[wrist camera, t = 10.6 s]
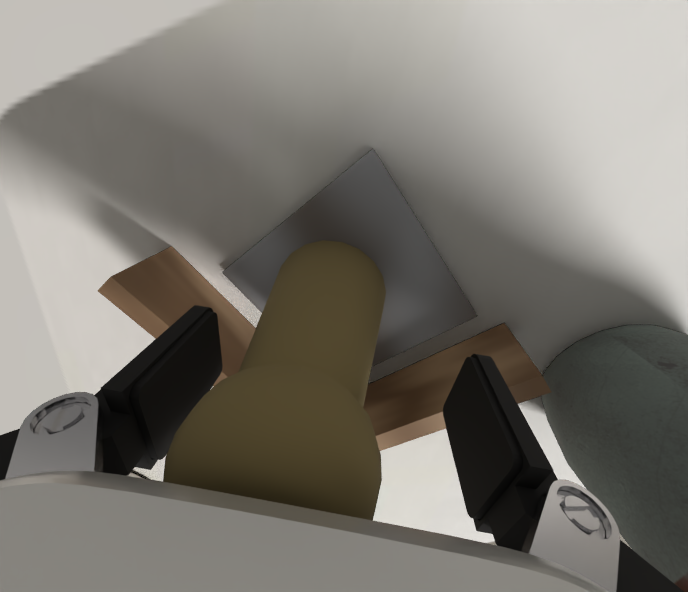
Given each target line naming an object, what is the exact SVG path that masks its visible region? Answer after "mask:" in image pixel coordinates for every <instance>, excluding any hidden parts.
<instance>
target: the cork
mask: <svg viewBox="0 0 688 592" xmlns="http://www.w3.org/2000/svg"><path fill="white" fill-rule="evenodd" d="M385 296H386V289H385V284H384V279H383V275H382V274H381V272H380V270H379V269H378V267H377V266H376V264H375V262H374V261H373V260H372V259H371V258H369V257H368V256H367V255H366V254H365V253H364V252H362V251H361V250H360V249H358V248H355V247H353V246H351V245H348V244H346V243H343V242H336V241H325V240H322V241H318V242H314V243H309V244H305V245H304V246H302V247H300V248H299V249H297V250H296V251H294V252H292V253H291V254H290V255H289V257H288V258H287V259H286V260H285V262H284V263H283V264H282V266H281V268H280V270H279V273H278V275H277V278H276V280H275V283H274V285H273V287H272V290H271V292H270V295H269V297H268V300H267V302H266V305H265V307H264V310H263V312H262V315H261V317H260V320H259V322H258V325H257V327H256V329H255V332H254V334H253V337H252V339H251V342H250V344H249V347H248V349H247V352H246V354H245V357H244V359H243V362H242V364H241V366H240V369H239V371H238V373H236V374H234V375H231V376H229V377H227V378H225V379H223V380H221V381H220V382H219V383H218V384H217V385H215V386H214V387H213V388H212V389H211V390H210V391H209V392H207V393H206V394H205V395H204V396H203V397H202V399H201V400H200V401H199V402H198V403H197V404H196V406H195V407H194V408H193V409H192V410H191V412H190V413H189V414H188V416H187V417H186V419H185V420H184V421H183V423H182V424H181V426H180V427H179V428H178V430H177V431H176V433H175V435H174V438H173V440H172V443H171V445H170V448H169V451H168V453H167V456H166V460H165V469H164V480H163V482H167V483H173V484H179V485H184V486H190V487H195V488H201V489H206V490H212V491H217V492H223V493H228V494H233V495H239V496H244V497H250V498H255V499H261V500H266V501H271V502H277V503H282V504H287V505H293V506H298V507H303V508H309V509H314V510H319V511H325V512H330V513H335V514H341V515H346V516H351V517H356V518H362V519H367V520H372V521H373V516H374V512H375V508H376V503H377V499H378V494H379V489H380V485H381V480H382V478H381V454H380V451H379V447H378V443H377V440H376V436H375V432H374V429H373V426H372V423H371V420H370V416H369V414H368V413H367V412H366V411H365V409H364V408H363V406H364V401H365V396H366V391H367V386H368V381H369V377H370V372H371V367H372V362H373V357H374V352H375V347H376V342H377V337H378V333H379V328H380V323H381V318H382V313H383V308H384V302H385Z"/></svg>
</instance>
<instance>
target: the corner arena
mask: <svg viewBox="0 0 688 592" xmlns="http://www.w3.org/2000/svg"><path fill="white" fill-rule="evenodd" d="M322 240H325V241H336V242H343V243H346V244H348V245H351V246H353V247H355V248H358V249H360V250H361V251H362V252H364V253H365V254H366V255H367V256H368V257H369V258H371V259H372V260H373V261H374V262H375V264H376V266H377V267H378V269H379V270H380V272H381V274H382V275H383V279H384V284H385V289H386V296H385V302H384V308H383V313H382V318H381V323H380V328H379V333H378V337H377V342H376V347H375V352H374V357H373V362H372V366H374V365H376V364H378V363H381V362H383V361H385V360H387V359H389V358H391V357H393V356H395V355H397V354H399V353H401V352H404V351H406V350H408V349H410V348H412V347H414V346H416V345H418V344H420V343H422V342H424V341H427V340H429V339H431V338H433V337H435V336H437V335H439V334H441V333H443V332H445V331H447V330H450V329H452V328H454V327H456V326H458V325H460V324H462V323H464V322H466V321H468V320H470V319H473V318H475V317H477V314H476V313H475V311H474V309H473V308H472V306H471V305H470V303H469V301H468V300H467V298H466V297H465V295H464V293H463V292H462V290H461V289H460V287H459V285H458V284H457V282H456V281H455V279H454V277H453V276H452V274H451V273H450V271H449V269H448V268H447V266H446V264H445V263H444V261H443V260H442V258H441V256H440V255H439V253H438V252H437V250H436V248H435V247H434V245H433V244H432V242H431V240H430V239H429V237H428V236H427V234H426V232H425V231H424V229H423V228H422V226H421V224H420V223H419V221H418V220H417V218H416V216H415V215H414V213H413V211H412V210H411V208H410V207H409V205H408V203H407V202H406V200H405V199H404V197H403V195H402V194H401V192H400V191H399V189H398V187H397V186H396V184H395V183H394V181H393V179H392V178H391V176H390V175H389V173H388V171H387V170H386V168H385V167H384V165H383V163H382V162H381V160H380V159H379V157H378V155H377V154H376V152H375V150H374V149H372V150H371V151H369V152H368V153H367V154H366V155H364V156H363V157H362V158H361V159H360V160H358V161H357V162H356V163H355V164H353V165H352V166H351V167H350V168H349V169H347V170H346V171H345V172H344V173H342V174H341V175H340V176H339V177H338V178H336V179H335V180H334V181H333V182H331V183H330V184H329V185H328V186H327V187H325V188H324V189H323V190H322V191H321V192H319V193H318V194H317V195H316V196H314V197H313V198H312V199H311V200H310V201H308V202H307V203H306V204H305V205H303V206H302V207H301V208H300V209H299V210H297V211H296V212H295V213H294V214H292V215H291V216H290V217H289V218H288V219H286V220H285V221H284V222H283V223H281V224H280V225H279V226H278V227H277V228H275V229H274V230H273V231H272V232H270V233H269V234H268V235H267V236H266V237H264V238H263V239H262V240H261V241H259V242H258V243H257V244H256V245H255V246H253V247H252V248H251V249H250V250H248V251H247V252H246V253H245V254H244V255H242V256H241V257H240V258H239V259H237V260H236V261H235V262H234V263H233V264H231V265H230V266H229V267H228V268H226V269H225V270H224V271H223V272H222V273H223V274H224V275H225V276H226V277H227V278H228V279H229V280H230V281H231V282H232V283H233V284H234V285H235V286H236V287H237V288H238V289H239V290H240V291H241V292H242V293H243V294H244V295H245V296H246V297H247V298H248V299H249V300H250V301H251V302H252V303H253V304H254V305H255V306H256V307H257V308H258V309H259V310H260V311H261V312H263V310H264V307H265V305H266V302H267V300H268V297H269V295H270V292H271V290H272V287H273V285H274V283H275V280H276V278H277V275H278V273H279V270H280V268H281V266H282V264H283V263H284V262H285V260H286V259H287V258H288V257H289V255H290V254H291V253H292V252H294V251H296V250H297V249H299V248H300V247H302V246H304V245H305V244H309V243H314V242H318V241H322ZM98 292H100V293H101V294H102V295H103V296H104V297H106V298H107V299H108V300H109V301H111V302H112V303H113V304H114V305H115V306H117V307H118V308H119V309H120V310H122V311H123V312H124V313H125V314H126V315H128V316H129V317H130V318H131V319H132V320H134V321H135V322H136V323H137V324H139V325H140V326H141V327H142V328H143V329H145V330H146V331H147V332H148V333H150V334H151V335H152V336H153V337H154V338H156V339H157V338H158V337H159V336H160V335H161V334H162V333H163V332H165V331H166V330H167V329H168V328H169V327H170V326H171V325H172V324H174V323H175V322H176V321H177V320H178V319H179V318H180V317H181V316H183V315H184V314H185V313H186V312H187V311H188V310H189V309H190V308H192V307H193V306H194V305H198V306H204V307H210V308H212V309H213V312H215V313H217V316H218V326H219V335H220V345H221V355H222V364H223V367H222V372H221V374H220V376H219V377H218V379H217V380H216V382H215V383H214V385H213V386H215V385H217V384H218V383H219V382H220V381H221V380H223V379H225V378H227V377H229V376H231V375H234V374H236V373H238V371H239V369H240V366H241V364H242V362H243V359H244V357H245V354H246V352H247V349H248V347H249V344H250V342H251V339H252V337H253V334H254V332H255V329H256V328H255V327H254V326H253V325H252V324H251V323H249V322H248V321H247V320H246V319H245V318H244V317H243V316H242V315H241V314H240V313H239V312H238V311H237V310H236V309H235V308H234V307H233V306H232V305H231V304H230V303H229V302H228V301H227V300H226V299H225V298H224V297H223V296H222V295H221V294H220V293H219V292H218V291H217V290H216V289H215V288H214V287H213V286H212V285H211V284H210V283H209V282H208V281H207V280H206V279H205V278H203V277H202V276H201V275H200V274H199V273H198V272H197V271H196V270H195V269H194V268H193V267H192V266H191V265H190V264H189V263H188V262H187V261H186V260H185V259H184V258H183V257H182V256H181V255H180V254H179V253H178V252H177V251H176V250H175V249H174V248H173V247H172V246H171V247H169V248H167V249H165V250H163V251H161V252H159V253H157V254H155V255H153V256H151V257H149V258H147V259H145V260H143V261H141V262H139V263H137V264H135V265H133V266H131V267H129V268H127V269H125V270H123V271H121V272H119V273H117V274H115V275H113V276H111V277H110V278H109V279H108V280H107V281H106V282H105V283H104V284H103V286H102V287H101V288H100V289H99V290H98ZM473 354H479V355H485V356H490V357H492V359H493V360H494V362H495V364H496V366H497V368H498V370H499V371H500V373H501V375H502V377H503V379H504V381H505V382H506V384H507V386H508V388H509V390H510V392H511V393H512V395H513V397H514V399H515V401H516V403H517V404H519V403H522V402H524V401H527V400H530V399H533V398H536V397H539V396H542V395H545V394H548V393H551V390H550V388H549V386H548V385H547V383H546V381H545V379H544V378H543V376H542V374H541V373H540V372H539V370H538V369H537V367H536V366H535V365H534V363H533V362H532V361H531V359H530V358H529V356H528V355H527V354H526V352H525V351H524V349H523V348H522V347H521V345H520V344H519V342H518V341H517V340H516V338H515V337H514V336H513V334H512V333H511V331H510V330H509V329H508V327H507V326H506V324H505V323H503V324H501V325H499V326H496V327H494V328H492V329H490V330H488V331H485V332H483V333H481V334H479V335H476V336H474V337H472V338H470V339H468V340H465V341H463V342H461V343H459V344H457V345H454V346H452V347H450V348H448V349H446V350H443V351H441V352H439V353H437V354H435V355H432V356H430V357H428V358H426V359H423V360H421V361H419V362H417V363H415V364H412V365H410V366H408V367H406V368H404V369H401V370H399V371H397V372H395V373H393V374H390V375H388V376H386V377H384V378H382V379H379V380H377V381H375V382H373V383H370V384H368V386H367V391H366V396H365V401H364V406H363V408H364V409H365V411H366V412H367V413H368V414H369V416H370V420H371V423H372V426H373V429H374V432H375V436H376V440H377V443H378V447H379V451H381V450H384V449H387V448H390V447H393V446H396V445H399V444H402V443H404V442H407V441H410V440H413V439H416V438H419V437H422V436H425V435H428V434H431V433H434V432H437V431H440V430H442V429H445V428H446V425H445V421H444V417H443V406H444V404H445V401H446V399H447V397H448V395H449V393H450V391H451V389H452V387H453V384H454V382H455V380H456V378H457V376H458V374H459V372H460V370H461V367H462V365H463V363H464V361H465V359H466V358H467V357H471V355H473Z"/></svg>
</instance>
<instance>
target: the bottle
mask: <svg viewBox="0 0 688 592" xmlns="http://www.w3.org/2000/svg"><path fill="white" fill-rule="evenodd" d="M543 378H544V379H545V381H546V383H547V385H548V386H549V388H550V390H551V393H548V394H545V395H542V401H543V405H544V409H545V413H546V416H547V420H548V422H549V425H550V427H551V429H552V431H553V433H554V435H555V437H556V440H557V442H558V444H559V446H560V448H561V450H562V452H563V455H564V457H565V459H566V461H567V463H568V465H569V466H570V467H571V469H572V470H573V471H574V473H575V474H576V475H577V477H578V478H579V479H580V481H581V482H582V483H583V485H584V486H585V487H586V489H587V490H588V491H589V492H590V493H592V494H593V495H594V496H595V497H597V498H598V499H599V500H600V501H601V503H602V504H603V505H604V506H605V507H606V508H607V509H608V511H609V512H610V514H611V515H612V516H613V518H614V520H615V522H616V524H617V526H618V528H619V533H620V534H621V535H622V537H623V538H624V539H625V541H626V542H627V543H628V544H629V546H630V547H631V548H632V550H633V551H635V552H636V553H637V554H638V555H639V556H641V557H642V558H643V559H644V560H646V561H647V562H648V563H649V564H651V565H652V566H653V567H654V568H656V569H657V570H658V571H659V572H661V573H662V574H663V575H664V576H665V577H667V578H668V579H669V580H670V581H672V582H673V583H674V584H675V585H677V586H678V587H679V588H680V589H682V590H683V591H684V592H688V335H687V334H684V333H681V332H678V331H674V330H671V329H667V328H663V327H660V326H656V325H625V326H621V327H617V328H612V329H608V330H603V331H600V332H598V333H595V334H593V335H591V336H589V337H586V338H584V339H582V340H580V341H577V342H576V343H574V344H573V345H572V346H570V347H569V348H567V349H566V350H565V351H563V352H562V353H561V354H559V355H558V356H557V357H556V358H555V360H554V361H553V362H552V363H551V364H550V366H549V367H548V368H547V369H546V371H545V373H544V376H543Z"/></svg>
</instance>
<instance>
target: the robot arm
mask: <svg viewBox="0 0 688 592" xmlns="http://www.w3.org/2000/svg"><path fill="white" fill-rule="evenodd" d="M222 367H223V364H222V355H221V345H220V335H219V326H218V316H217V313H215V312H213V309H212V308H210V307H204V306H198V305H194V306H193V307H192V308H190V309H189V310H188V311H187V312H186V313H185V314H184V315H183V316H181V317H180V318H179V319H178V320H177V321H176V322H175V323H174V324H172V325H171V326H170V327H169V328H168V329H167V330H166V331H165V332H163V333H162V334H161V335H160V336H159V337H158V338H157V339H155V340H154V341H153V342H152V343H151V344H150V345H149V346H148V347H146V348H145V349H144V350H143V351H142V352H141V353H140V354H139V355H137V356H136V357H135V358H134V359H133V360H132V361H131V362H130V363H128V364H127V365H126V366H125V367H124V368H123V369H122V370H121V371H119V372H118V373H117V374H116V375H115V376H114V377H113V378H111V379H110V380H109V381H108V382H107V383H106V384H105V385H104V386H102V387H101V390H100V391H99V392H98V393H96V394H95V395H93V394H90V393H87V392H75V393H70V394H65V395H62V396H59V397H56V398H53V399H52V400H50V401H48V402H46V403H44V404H42V405H41V406H39V407H38V408H36V409H35V410H33V411H32V412H31V413H30V414H29V415H28V416H27V417H26V418H25V420H24V422H23V424H22V425H21V427H20V429H18V430H14V431H12V432H9V433H6V434H3V435H0V592H684V591H683V590H682V589H680V588H679V587H678V586H677V585H675V584H674V583H673V582H672V581H670V580H669V579H668V578H667V577H665V576H664V575H663V574H662V573H661V572H659V571H658V570H657V569H656V568H654V567H653V566H652V565H651V564H649V563H648V562H647V561H646V560H644V559H643V558H642V557H641V556H639V555H638V554H637V553H636V552H635V551H633V550H632V549H631V548H630V547H628V546H627V545H626V544H625V543H623V542H622V541H621V540H620V534H619V528H618V526H617V524H616V522H615V520H614V518H613V516H612V515H611V514H610V512H609V511H608V509H607V508H606V507H605V506H604V505H603V504H602V503H601V501H600V500H599V499H598V498H597V497H595V496H594V495H593V494H592V493H590V492H589V491H588V490H587V489H585V488H583V487H582V486H580V485H578V484H576V483H574V482H571V481H568V480H560V479H559V480H558V479H557V477H556V475H555V474H554V472H553V469H552V467H551V465H550V463H549V461H548V459H547V458H546V456H545V454H544V452H543V450H542V448H541V447H540V445H539V443H538V441H537V439H536V437H535V436H534V434H533V432H532V430H531V428H530V426H529V425H528V423H527V421H526V419H525V417H524V415H523V414H522V412H521V410H520V408H519V406H518V404H517V403H516V401H515V399H514V397H513V395H512V393H511V392H510V390H509V388H508V386H507V384H506V382H505V381H504V379H503V377H502V375H501V373H500V371H499V370H498V368H497V366H496V364H495V362H494V360H493V359H492V357H490V356H485V355H479V354H473V355H471V357H467V358H466V359H465V361H464V363H463V365H462V367H461V370H460V372H459V374H458V376H457V378H456V380H455V382H454V384H453V387H452V389H451V391H450V393H449V395H448V397H447V399H446V401H445V404H444V406H443V417H444V421H445V425H446V429H447V433H448V437H449V441H450V445H451V449H452V453H453V457H454V461H455V465H456V469H457V473H458V477H459V481H460V485H461V489H462V493H463V497H464V501H465V505H466V509H467V512H468V515H469V516H470V517H471V518H473V519H474V523H475V527H476V531H480V532H485V533H491V534H493V536H494V539H495V542H496V544H497V546H496V545H491V544H487V543H482V542H477V541H473V540H468V539H463V538H459V537H454V536H449V535H444V534H439V533H434V532H429V531H424V530H418V529H413V528H408V527H403V526H398V525H393V524H387V523H382V522H377V521H372V520H367V519H362V518H356V517H351V516H346V515H341V514H335V513H330V512H325V511H319V510H314V509H309V508H303V507H298V506H293V505H287V504H282V503H277V502H271V501H266V500H261V499H255V498H250V497H244V496H239V495H233V494H228V493H223V492H217V491H212V490H206V489H201V488H195V487H190V486H184V485H179V484H173V483H167V482H161V481H155V480H149V479H144V478H142V477H140V476H138V475H136V474H133V473H131V471H132V470H133V468H134V467H138V468H144V469H149V470H151V469H152V467H153V466H154V464H155V463H156V462H157V460H158V459H159V460H161V459H163V458H164V457H165V456H166V454H167V453H168V451H169V448H170V445H171V443H172V440H173V438H174V435H175V433H176V431H177V430H178V428H179V427H180V426H181V424H182V423H183V421H184V420H185V419H186V417H187V416H188V414H189V413H190V412H191V410H192V409H193V408H194V407H195V406H196V404H197V403H198V402H199V401H200V400H201V399H202V397H203V396H204V395H205V394H206V393H207V392H209V391H210V389H211V388H212V386H213V385H214V383H215V382H216V380H217V379H218V377H219V376H220V374H221V372H222Z"/></svg>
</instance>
